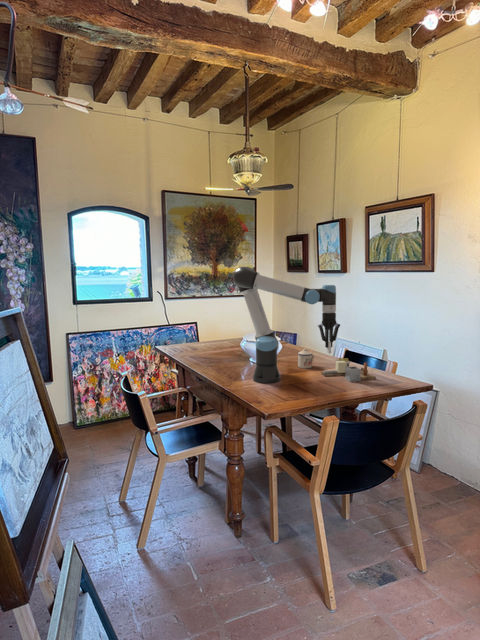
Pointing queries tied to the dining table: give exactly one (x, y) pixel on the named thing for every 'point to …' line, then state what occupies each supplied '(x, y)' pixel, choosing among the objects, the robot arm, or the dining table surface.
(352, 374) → the grey hollow square block
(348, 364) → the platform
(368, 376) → the square plate with peg
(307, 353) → the teacup with lid
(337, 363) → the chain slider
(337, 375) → the rail
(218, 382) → the dining table surface
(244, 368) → the dining table surface
